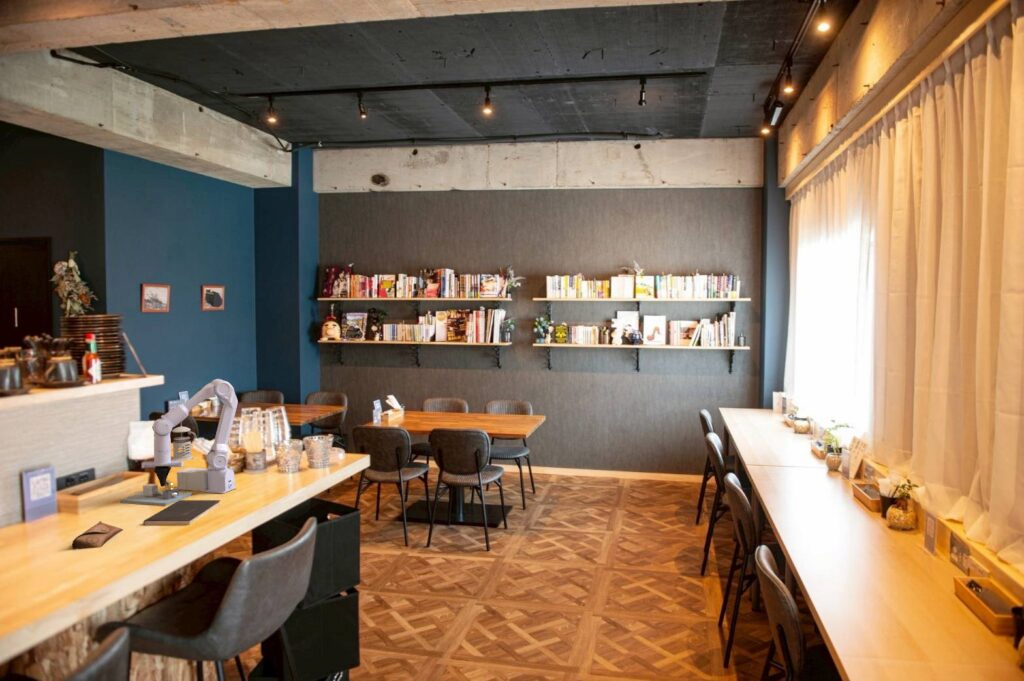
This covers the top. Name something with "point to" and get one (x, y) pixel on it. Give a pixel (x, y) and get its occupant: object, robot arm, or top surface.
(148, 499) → the board
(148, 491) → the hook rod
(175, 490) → the grey block
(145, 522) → the hardcover book
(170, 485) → the ball knob lever
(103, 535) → the sunglasses case
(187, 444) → the french press
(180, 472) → the supplement box
